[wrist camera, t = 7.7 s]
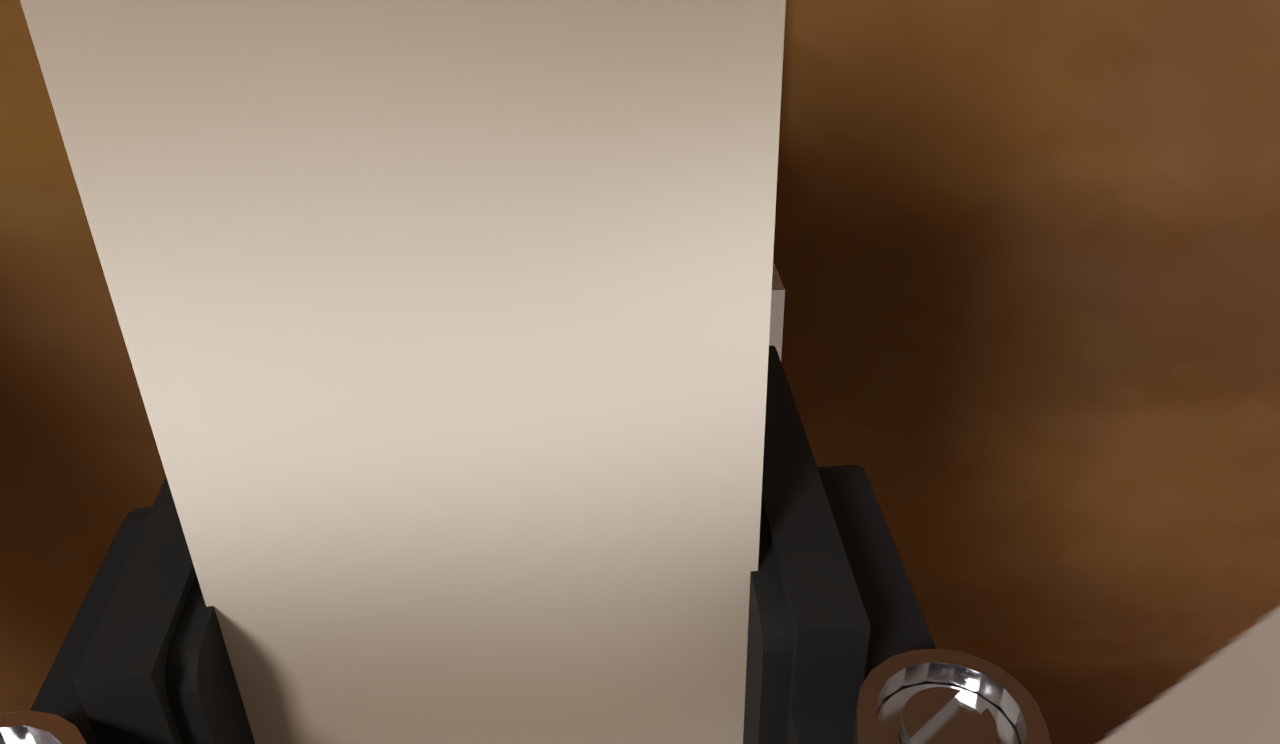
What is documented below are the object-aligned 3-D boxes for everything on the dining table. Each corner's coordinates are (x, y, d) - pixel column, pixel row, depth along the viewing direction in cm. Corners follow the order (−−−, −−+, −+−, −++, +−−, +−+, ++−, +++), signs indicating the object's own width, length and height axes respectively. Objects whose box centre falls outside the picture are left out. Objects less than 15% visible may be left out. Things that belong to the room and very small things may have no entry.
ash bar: (690, 905, 17) (726, 1207, 14) (428, 926, 17) (400, 1238, 14) (704, -662, 8) (830, -928, 4) (103, -657, 7) (-264, -932, 4)
